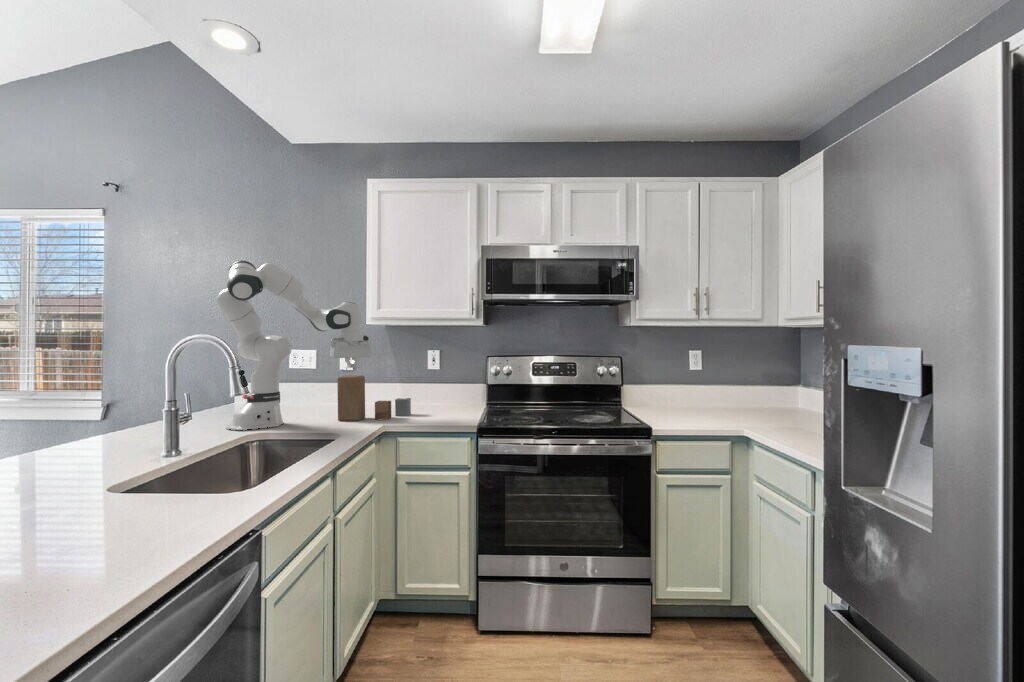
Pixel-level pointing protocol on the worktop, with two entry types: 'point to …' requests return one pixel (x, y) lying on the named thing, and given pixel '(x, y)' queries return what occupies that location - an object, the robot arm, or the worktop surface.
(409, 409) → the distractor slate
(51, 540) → the worktop surface
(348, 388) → the block
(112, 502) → the worktop surface
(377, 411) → the brown upright block
